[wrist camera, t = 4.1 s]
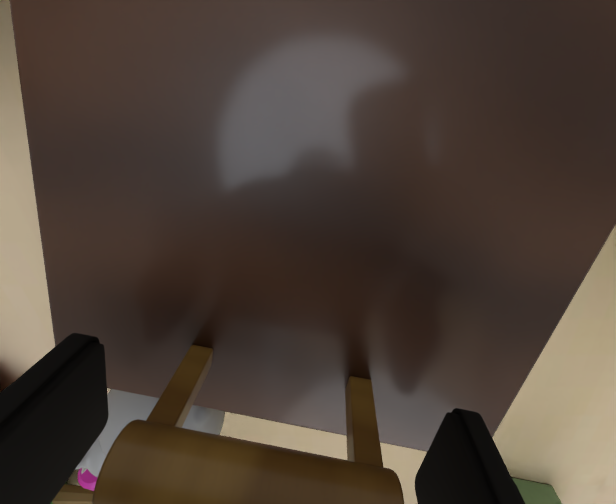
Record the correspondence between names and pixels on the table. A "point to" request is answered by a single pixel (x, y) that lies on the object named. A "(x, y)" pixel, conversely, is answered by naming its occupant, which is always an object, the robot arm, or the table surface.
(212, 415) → the chubby cartoon animal
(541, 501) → the green block
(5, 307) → the table surface
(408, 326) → the lid
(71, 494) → the toy sword
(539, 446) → the table surface
